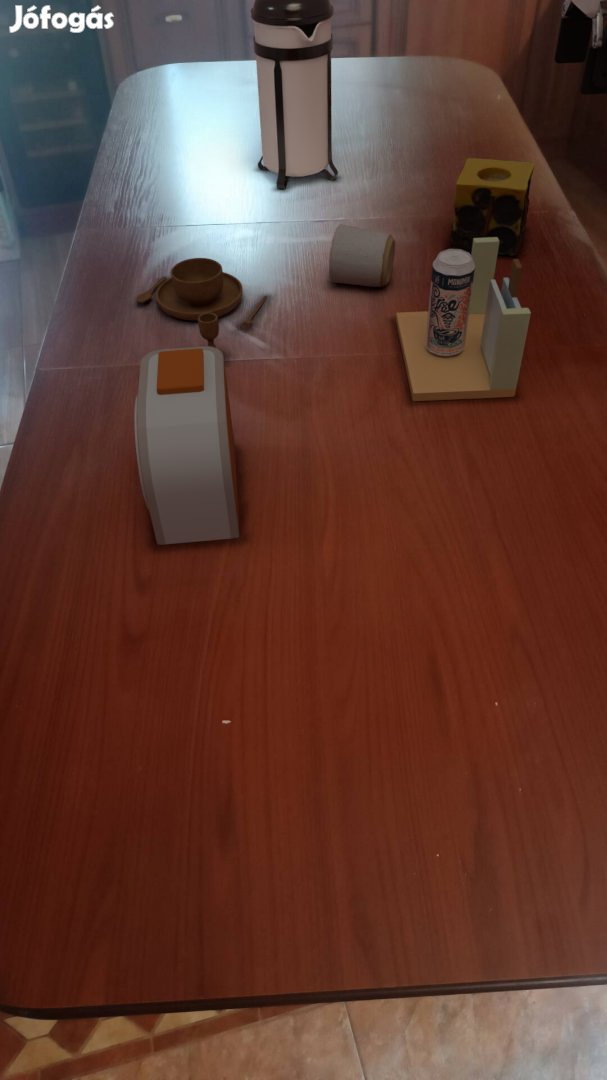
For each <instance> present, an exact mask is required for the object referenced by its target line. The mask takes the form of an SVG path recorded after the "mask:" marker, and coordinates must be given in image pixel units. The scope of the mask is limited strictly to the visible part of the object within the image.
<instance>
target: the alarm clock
mask: <svg viewBox="0 0 607 1080" xmlns="http://www.w3.org/2000/svg"><path fill="white" fill-rule="evenodd" d="M138 372H139V373H138V384H137V385H138V387H137V395H136V397H135V402H134V416H133V417H134V420H133V421H134V439H135V440H134V441H135V449H136V450H135V452H136V461H137V469H138V475H139V482H140V487H141V492H142V495H143V498H144V502H145V505H146V507H147V510H148V511H149V512H148V513H149V516H150V521H151V525H152V529H153V533H154V538H155V541H156V544H157V545H158V546H163V545H174V544H185V543H196V542H206V541H207V542H208V541H209V542H210V541H218V540H219V541H221V540H231V539H238V538H240V537H241V536H240V535H241V529H240V528H241V527H240V512H239V511H240V510H239V509H240V508H239V494H238V492H239V491H238V475H237V458H236V447H235V439H234V431H233V422H232V421H233V420H232V413H231V404H230V396H229V387H228V381H227V371H226V362H225V356H224V354H223V352H222V351H221V350H220V349H218V348H217V347H216V348H214V347H210V346H208V345H200V346H199V345H198V346H188V347H175V348H162V349H156V350H152V351H150V352H148V353H146V354H145V355H144V356H142V357H141V360H140V364H139V371H138Z"/></svg>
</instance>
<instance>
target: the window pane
mask: <svg viewBox="0 0 607 1080" xmlns="http://www.w3.org/2000/svg"><path fill="white" fill-rule="evenodd" d="M522 271H523V266H522V264H521V262H520V259H519V258H512V263H511V269H510V275H509V277H503V278H502V284H501V290H500V293H501V296H502V298H503V300H504V303H505V305H506V308H507V309H509V308H522V306H521V304H520V302H519V300H518V294H519V288H520V283H521V276H522Z"/></svg>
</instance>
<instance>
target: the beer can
mask: <svg viewBox="0 0 607 1080" xmlns="http://www.w3.org/2000/svg"><path fill="white" fill-rule="evenodd" d="M431 266H432V267H431V279H430V287H429V288H430V289H429V299H428V309H427V311H428V320H427V331H426V342H425V345H426V348H427V349H428V350H429V351H430V352H432V353H434V354H436V355H439V356H452V355H455V354H458V353H460V352H461V351H462V350H463V349H464V346H465V338H466V331H467V323H468V316H469V308H470V301H471V293H472V286H473V278H474V271H475V264H474V262H473V259H472V256H471V254H470V251H463V250H461V249H451V248H448V249H445V250H441V251H440V252H439V253H438V254H437V256H436V258H435V259H434V260H433V262H432V265H431Z"/></svg>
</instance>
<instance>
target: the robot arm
mask: <svg viewBox="0 0 607 1080" xmlns="http://www.w3.org/2000/svg"><path fill="white" fill-rule="evenodd" d="M561 16H562V17H561V18H560V23H559V29H558V33H557V40H556V45H555V52H554V56H553V57H554V58H553V59H554V62H555V63H556V64H578V63H584V65H583V70H582V74H581V75H582V76H581V80H580V85H579V92H580V93H581V95H607V24H606V25H605V27H604V22H605V21H607V0H564V2H563V5H562V8H561ZM591 35H592V45H590V40H591Z"/></svg>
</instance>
